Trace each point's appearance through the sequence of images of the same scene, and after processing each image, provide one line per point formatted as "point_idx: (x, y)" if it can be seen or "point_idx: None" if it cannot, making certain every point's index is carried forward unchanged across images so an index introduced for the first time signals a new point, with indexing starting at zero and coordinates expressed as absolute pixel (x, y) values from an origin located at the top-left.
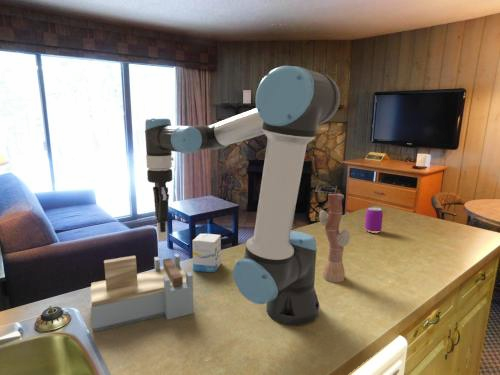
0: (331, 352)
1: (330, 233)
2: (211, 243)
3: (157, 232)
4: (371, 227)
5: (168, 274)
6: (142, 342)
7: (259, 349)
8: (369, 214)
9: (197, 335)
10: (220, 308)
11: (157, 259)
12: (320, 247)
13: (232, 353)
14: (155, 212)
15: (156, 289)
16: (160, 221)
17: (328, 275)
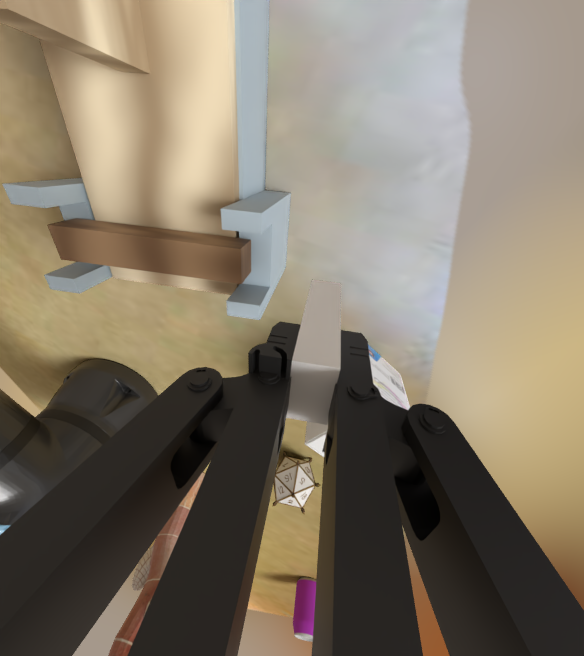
0: (16, 368)
1: (152, 572)
2: (311, 435)
3: (338, 308)
4: (303, 590)
5: (150, 230)
6: (28, 68)
7: (17, 299)
8: (306, 621)
9: (56, 221)
10: (148, 306)
11: (229, 221)
12: (302, 527)
13: (3, 257)
14: (466, 455)
15: (74, 151)
16: (186, 377)
17: None
